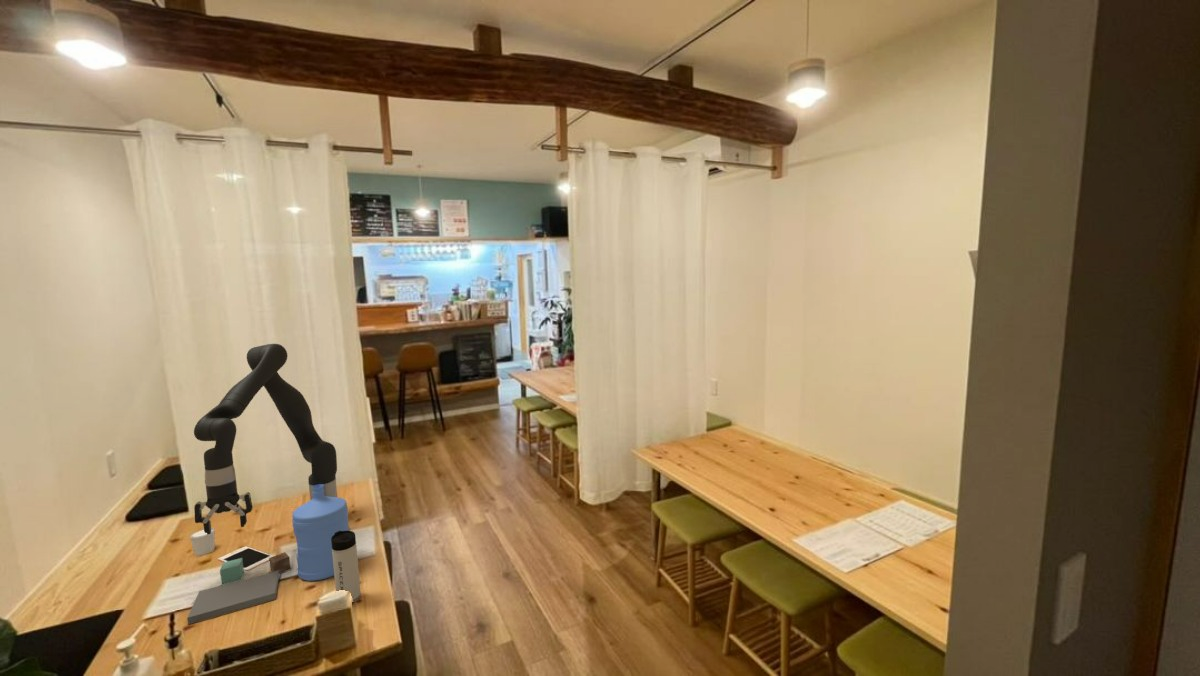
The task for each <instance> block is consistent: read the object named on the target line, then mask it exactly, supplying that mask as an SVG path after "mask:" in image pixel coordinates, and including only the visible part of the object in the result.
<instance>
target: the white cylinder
mask: <svg viewBox="0 0 1200 676" xmlns="http://www.w3.org/2000/svg"><path fill="white" fill-rule="evenodd" d="M215 531H216V530H215V528H212V527H211V534H208V535H207V533H205V532H204V528H203V529H200V530H197V531H195V532H193V533H191V535H189V537H190V542H191V546H192V550H193V554H194V556H198V557H200V556H204V555H207V554H210V553H212V552H213V551H214V550H215V546H216V544H215V539H216V538H215V537H216V535H215V534H216V532H215Z"/></svg>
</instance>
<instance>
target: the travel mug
mask: <svg viewBox="0 0 1200 676" xmlns="http://www.w3.org/2000/svg"><path fill="white" fill-rule="evenodd" d="M356 540H357V539H356V533H355V532H354V531H352V530H350V531H341V530H340V531H338V532H335V533H334V535H333V536H332V538H331V543H332V556H333V567H334V585H335V592H336V591H339V590H345V591H349V592H350V593H351V596H352V598H353V601H354V603H356V602H357V601H359V600H360V598H361V596H362V594H361V583H360V573H359V560H358V551H357V550H358V549H357V541H356Z"/></svg>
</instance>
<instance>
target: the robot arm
mask: <svg viewBox="0 0 1200 676" xmlns="http://www.w3.org/2000/svg"><path fill="white" fill-rule="evenodd" d="M287 360H288V351H287V350H286V348H285V347H284V346H283V345H281V344H279V343H268V344H263V345H258V346H254V347H252V348H249V350H248V351H247V353H246V361H247V364H248V366H249V368H250V370H251V371H250V373H248V374H247V375H246V376H245V377H243V378H242V379H241V380H240V381H238V382H237V383H235V384H234V385H233V386H232V387H231V388H230V389H229V390H228V391H227V393H225V395H224V396H223V398H222V399H221V400H220V401H219V404H217V405H216V406H214V407H213V408H212V409H211V410H209V411H208V412H207V413H206V414H205V415H203V416H202V417H201V418H200V419H199V420H198V421H197V422H196V424H195V427H194V429H193V434H194V437H195V438H196V439H197V440H198V441H201V442H215V444H214V447H211V448H209V449H206V451H204V452H203V463H204V471H205V472H204V484H205V491H206V500H207V501H197V502H196V503H195V504H194V523H195V524H203V529H204V532H205V533H207V535H208V534H211V528H212V524H211V523H212V522H211V518H212V517H213V515H214V514H218V515H219V514H222V513H228V512H230V511H233V512H234V513H237V514H238V515H239V521H240V528H243V527H245V526H246V524H247V522H248V520H247V514H248V513H251V512H252V511H253V503H252V496H251V493H250V492H245V493H244V494H239V493H238V485H237V475H236V470H235V466H234V458H233V448H234V444H235V439H236V434H237V426H236V424H235V422H234V420H233V419H238V418H239V417H240V416H241V415H242V414H243V413H244V412H245V410H246V409H247V408H248V406H249V405H250V403H251V402H252V400H253V399H254V398H255V396H256V395H257V394H258V392H259V391H261V389H262V388H263V387H264V389H265V390H266V392H267V393H268V395H269V397H270V398H271V400H272V402H273V403H274V405H275V407H276V409H277V411H278V413H279V414H280V416H281V418H282V419H283V422H285V424H286V426H287V427H288V429H289V430H290V432H291V433H292V435H293V437H294V438H295V440H296V442H297V445H298V447H299V450H300V452H301V454H302V457H303V459H304V460H305V461H306V462H308V463H310V464H311V474H310V475H309V476H308V478H307V479H308V488H309V501H310V500H312V499H313V498H314V496H313V488H312V487H313V486H315V485H318V484H323V485H324V486H323V489H324V495H325V496H327V497H338V498H339V496H338V488H337V479H336V478H337V477H336V475H337V472H338V461H337V450H336V448H335V446H334V444H332V443H331V442H329V441H325V440H323V439H322V437H321V436H320V434H319V433H318V431H317V430H316V429H315V426H314V424H313V417H312V416H313V415H312V410H311V408H310V406H309V404H308V402H307V400H306V398H305V397H304V395H303V393H301V391H299V390H298V388H296V387H294V386H293V385H291V384H289V383H288V382H287V381H286V380H284V379H283V377H281V375H280V374H279V371H280V369H282V367H284V365H285V364H286V363H287ZM240 500H241V501H242V502H244V503H245V508H244V507H242V505H241V504H239V503H238V502H239V501H240ZM205 507H206V508H208V509H210V510H209V512H208V513H207V514H206V515H205V516H203V513H202V510H203V509H204V508H205Z"/></svg>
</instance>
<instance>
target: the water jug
mask: <svg viewBox="0 0 1200 676" xmlns="http://www.w3.org/2000/svg"><path fill="white" fill-rule="evenodd" d="M323 486H324V485H323V484H318V485H315V486H313V487H312V488H313V496H314V498H313V499H312V500H310V499H309V501H306V502H305V503H303V504H301V505H300V506H298V507H297V508H296V509H294V510H293V513H292V515H291V516H292V519H291V522H292V527H293V534H294V536H295V539H296V548H297V553H296V564H297V567H296V572H297V576H298V577H299V578H300V579H301V580H304V581H310V582H311V581H313V582H315V581H321V580H324V579H328V578H331V577H333V576H334V567H333V556H332V543H331V538H332V536H333V535H334V533H335V532H338V531H340V530H341V531H351V530H350V525H349V508H348V503H347V501H346V499H344V498H342V497H339V496H338V497H327V496H325V495H324V489H323Z"/></svg>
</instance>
